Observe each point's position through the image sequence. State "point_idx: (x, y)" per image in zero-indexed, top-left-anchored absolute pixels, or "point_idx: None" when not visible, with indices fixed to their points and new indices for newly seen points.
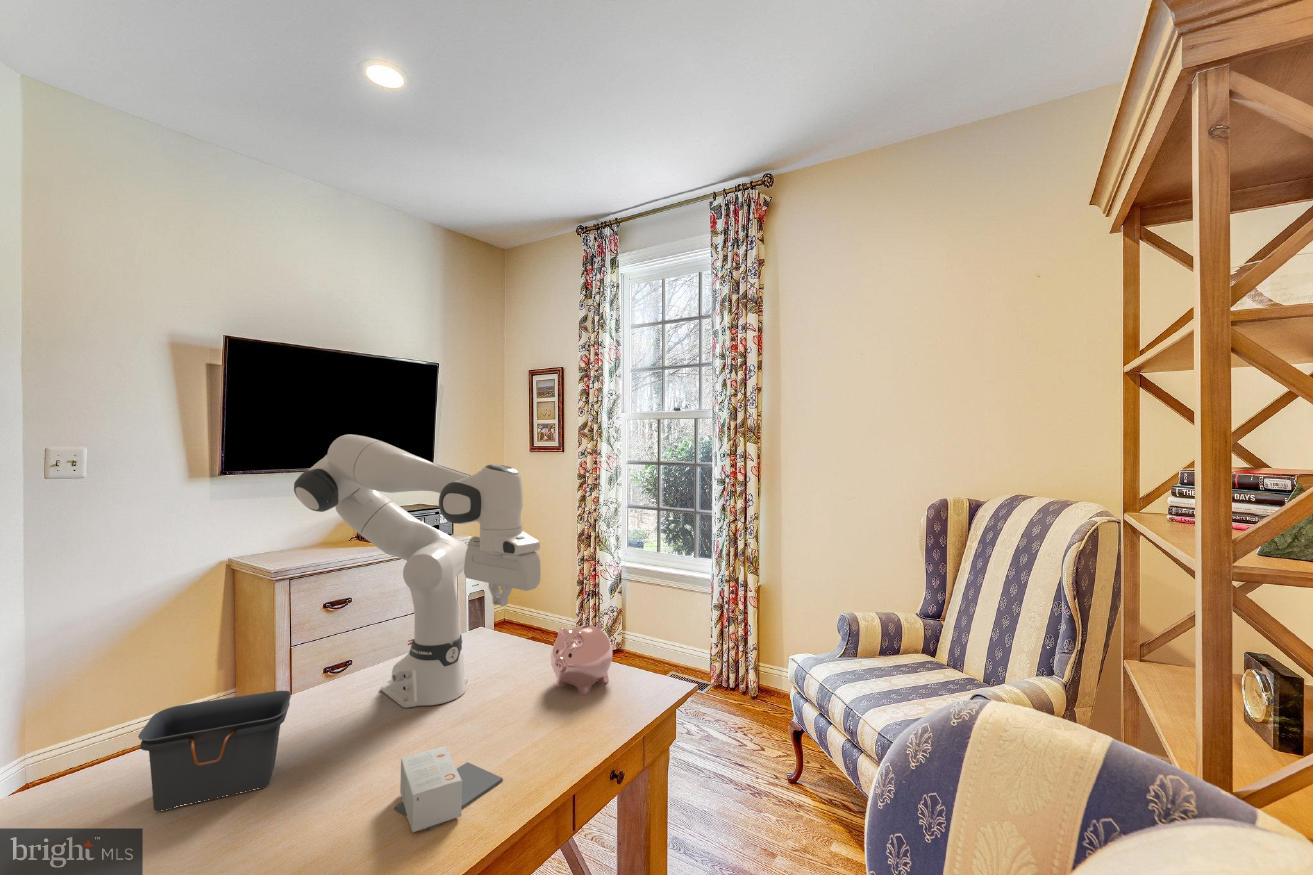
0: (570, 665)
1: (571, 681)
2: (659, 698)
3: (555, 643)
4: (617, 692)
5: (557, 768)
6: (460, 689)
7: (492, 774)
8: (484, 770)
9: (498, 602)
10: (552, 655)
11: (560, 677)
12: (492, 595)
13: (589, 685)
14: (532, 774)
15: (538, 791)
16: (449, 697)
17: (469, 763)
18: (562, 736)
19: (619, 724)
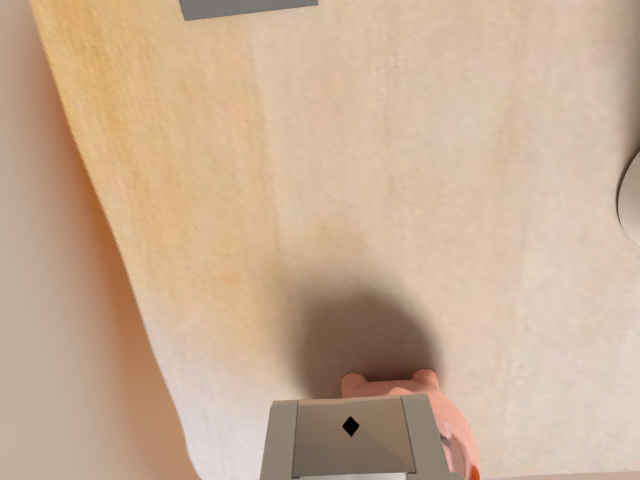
0: None
1: (370, 384)
2: (211, 437)
3: (458, 460)
4: None
5: (140, 142)
6: (632, 219)
7: (217, 12)
8: (248, 10)
9: (326, 418)
10: (447, 423)
11: (403, 381)
12: (448, 478)
13: (341, 398)
14: (159, 88)
15: (90, 50)
16: (634, 178)
17: (307, 4)
18: (242, 236)
19: (190, 334)
